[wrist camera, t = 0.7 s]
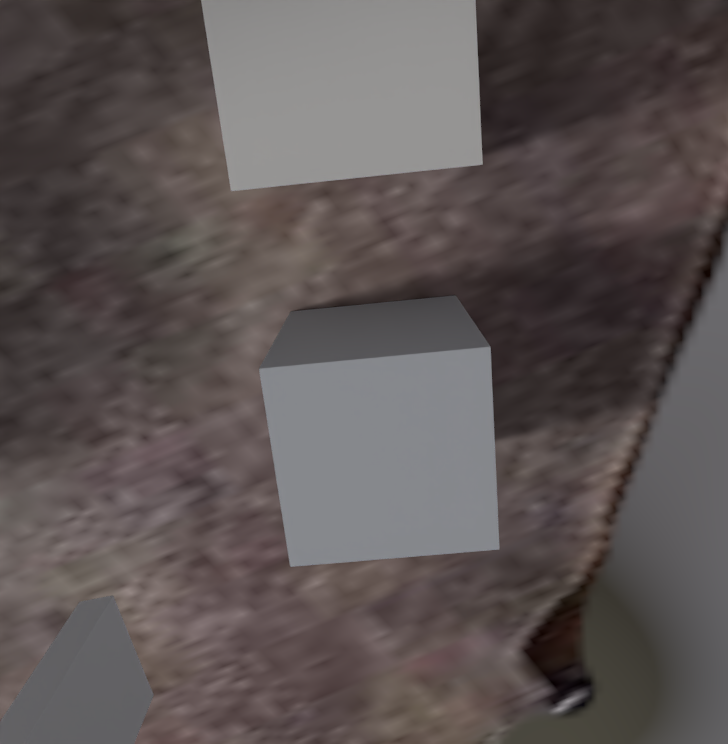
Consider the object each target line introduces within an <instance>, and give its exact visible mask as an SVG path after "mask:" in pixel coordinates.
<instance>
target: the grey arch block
mask: <svg viewBox="0 0 728 744" xmlns="http://www.w3.org/2000/svg"><path fill="white" fill-rule="evenodd" d="M259 371H260V378H261V384H262V390H263V397H264V403H265V409H266V416H267V422H268V428H269V435H270V441H271V447H272V454H273V460H274V466H275V473H276V479H277V486H278V492H279V498H280V505H281V511H282V517H283V524H284V530H285V536H286V543H287V549H288V555H289V562H290V567H293V566H305V565H317V564H329V563H341V562H353V561H365V560H377V559H389V558H402V557H414V556H426V555H438V554H450V553H462V552H474V551H486V550H498V549H499V530H498V507H497V484H496V461H495V438H494V415H493V392H492V369H491V347H490V345H489V344H488V342H487V341H486V339H485V338H484V336H483V335H482V333H481V332H480V330H479V329H478V327H477V326H476V324H475V323H474V322H473V320H472V319H471V317H470V316H469V314H468V313H467V311H466V310H465V308H464V307H463V305H462V304H461V302H460V301H459V299H458V298H457V296H456V295H454V296H443V297H433V298H423V299H413V300H403V301H392V302H382V303H372V304H362V305H352V306H342V307H331V308H321V309H311V310H301V311H291V312H290V313H289V315H288V317H287V319H286V321H285V322H284V324H283V326H282V328H281V330H280V332H279V333H278V335H277V337H276V339H275V341H274V342H273V344H272V346H271V348H270V350H269V352H268V353H267V355H266V357H265V359H264V361H263V362H262V364H261V366H260V368H259Z"/></svg>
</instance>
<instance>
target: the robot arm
mask: <svg viewBox="0 0 728 744" xmlns="http://www.w3.org/2000/svg"><path fill="white" fill-rule="evenodd" d="M152 698H153V693H152V690H151V688H150V685H149V683H148V680H147V678H146V675H145V673H144V670H143V668H142V666H141V663H140V661H139V658H138V656H137V653H136V651H135V648H134V646H133V643H132V641H131V639H130V636H129V634H128V631H127V629H126V626H125V624H124V621H123V619H122V616H121V614H120V612H119V609H118V607H117V604H116V602H115V599H114V597H113V596H108V597H102V598H97V599H92V600H87V601H82V602H79V604H78V605H77V607H76V608H75V610H74V611H73V613H72V614H71V616H70V617H69V619H68V620H67V622H66V623H65V625H64V626H63V628H62V629H61V631H60V632H59V634H58V635H57V637H56V638H55V640H54V641H53V643H52V644H51V646H50V647H49V649H48V650H47V652H46V653H45V655H44V656H43V658H42V659H41V661H40V662H39V664H38V665H37V667H36V668H35V670H34V671H33V673H32V674H31V676H30V677H29V679H28V680H27V682H26V684H25V685H24V687H23V688H22V690H21V691H20V693H19V694H18V696H17V697H16V699H15V700H14V702H13V703H12V705H11V706H10V708H9V709H8V711H7V712H6V714H5V715H4V717H3V718H2V720H1V721H0V744H134V742H135V740H136V737H137V735H138V732H139V730H140V727H141V725H142V723H143V720H144V718H145V715H146V713H147V710H148V708H149V705H150V703H151V700H152Z"/></svg>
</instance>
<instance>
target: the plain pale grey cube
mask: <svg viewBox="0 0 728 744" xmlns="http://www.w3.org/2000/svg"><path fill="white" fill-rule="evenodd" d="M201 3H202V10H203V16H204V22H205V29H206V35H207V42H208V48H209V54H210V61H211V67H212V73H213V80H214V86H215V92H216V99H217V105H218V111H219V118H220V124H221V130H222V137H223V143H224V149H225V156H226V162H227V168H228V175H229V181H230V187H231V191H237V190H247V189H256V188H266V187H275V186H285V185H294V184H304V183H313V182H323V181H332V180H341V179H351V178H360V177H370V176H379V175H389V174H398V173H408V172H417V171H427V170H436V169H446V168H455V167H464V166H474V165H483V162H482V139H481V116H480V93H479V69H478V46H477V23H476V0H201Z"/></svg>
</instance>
